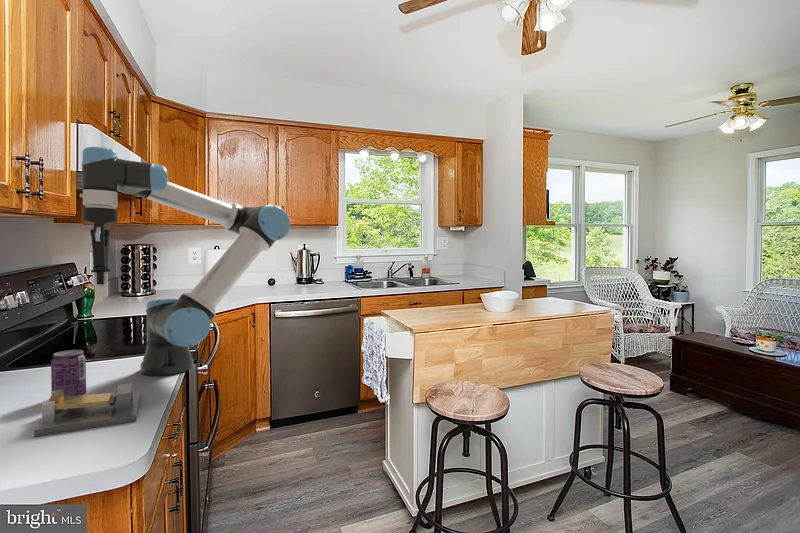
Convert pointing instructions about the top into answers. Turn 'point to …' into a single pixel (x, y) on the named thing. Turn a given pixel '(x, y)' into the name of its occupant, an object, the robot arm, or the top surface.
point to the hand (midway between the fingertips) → (101, 296)
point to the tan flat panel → (82, 400)
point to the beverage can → (69, 372)
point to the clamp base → (89, 414)
